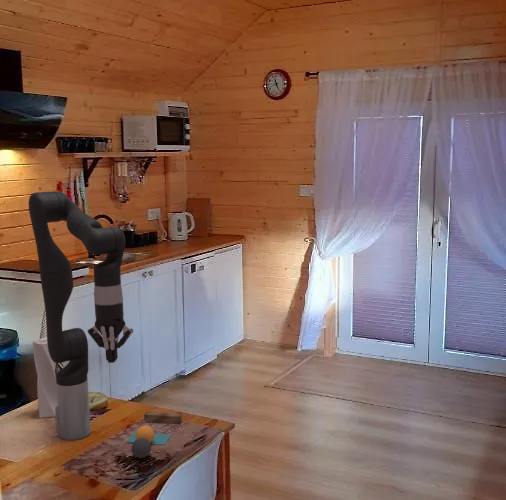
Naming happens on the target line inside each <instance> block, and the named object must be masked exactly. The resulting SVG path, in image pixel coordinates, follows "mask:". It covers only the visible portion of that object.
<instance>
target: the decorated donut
mask: <svg viewBox="0 0 506 500" xmlns="http://www.w3.org/2000/svg"><path fill="white" fill-rule="evenodd" d="M88 395H89V411H97V410H100V409H104V408H105V407H106V406H107V404H108V402H109V399H108V396H107V395H106V394H105V393H103V392H97V391H88Z"/></svg>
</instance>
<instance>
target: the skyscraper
mask: <svg viewBox="0 0 506 500" xmlns="http://www.w3.org/2000/svg"><path fill="white" fill-rule="evenodd" d="M32 350H33V359H34V364H35V370H36V374H37V375H36V376H37V386H36V390H37V391H36V392H37V405H38V411H37V413H36V415H35V416H34V419H47V418H56V412H55V408H56V406H58V399H57V385H56V374H57V373H56V372H55V371H56V365H57V363H55V362H53V360H52V359H51V357H50V354H49V351H48V344H47V336H46V337H41V338H39V340H33V341H32Z"/></svg>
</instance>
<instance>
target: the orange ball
mask: <svg viewBox="0 0 506 500" xmlns="http://www.w3.org/2000/svg"><path fill="white" fill-rule="evenodd" d="M135 432H136V439H138V438H145V439H147V440H148V441H149V442H150V443H151V442H152V440H153V439H154V433H155V431H154V429H153V428H152V427H151V426H150V425H141V426H139V428H137V429H136V431H135Z"/></svg>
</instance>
